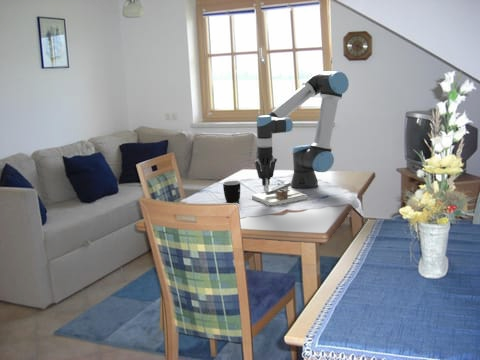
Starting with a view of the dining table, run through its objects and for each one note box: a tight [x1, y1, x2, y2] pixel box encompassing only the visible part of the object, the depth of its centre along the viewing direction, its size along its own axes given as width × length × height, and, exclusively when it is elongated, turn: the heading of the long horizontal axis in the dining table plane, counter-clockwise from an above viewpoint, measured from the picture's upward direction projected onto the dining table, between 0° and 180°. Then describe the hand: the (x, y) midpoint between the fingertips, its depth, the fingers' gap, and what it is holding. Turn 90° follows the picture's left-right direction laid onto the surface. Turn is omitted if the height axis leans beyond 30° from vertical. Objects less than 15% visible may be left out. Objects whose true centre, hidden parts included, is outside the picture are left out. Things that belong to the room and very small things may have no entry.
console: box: [251, 188, 308, 206], centre depth 294 cm, size 22×19×4 cm
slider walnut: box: [277, 189, 288, 200], centre depth 286 cm, size 4×4×5 cm
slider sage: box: [277, 180, 289, 190], centre depth 303 cm, size 4×4×5 cm
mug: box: [222, 180, 241, 204], centre depth 295 cm, size 12×9×10 cm
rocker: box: [264, 181, 292, 195], centre depth 294 cm, size 14×4×2 cm, turn 117°
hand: (266, 191), depth 290 cm, fingers closed
